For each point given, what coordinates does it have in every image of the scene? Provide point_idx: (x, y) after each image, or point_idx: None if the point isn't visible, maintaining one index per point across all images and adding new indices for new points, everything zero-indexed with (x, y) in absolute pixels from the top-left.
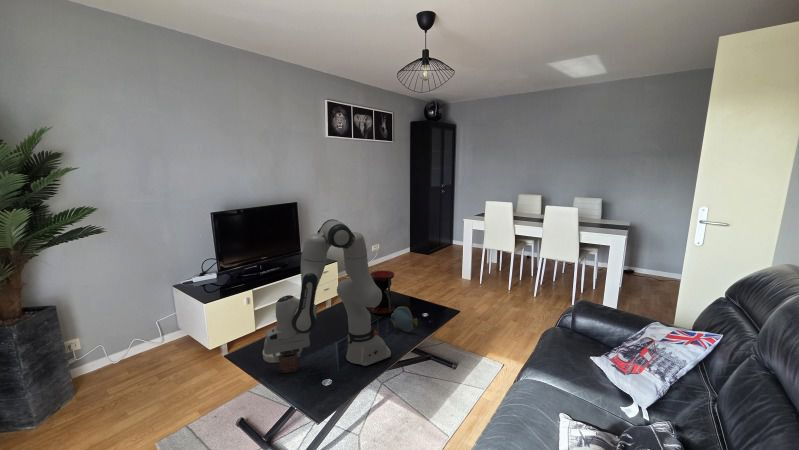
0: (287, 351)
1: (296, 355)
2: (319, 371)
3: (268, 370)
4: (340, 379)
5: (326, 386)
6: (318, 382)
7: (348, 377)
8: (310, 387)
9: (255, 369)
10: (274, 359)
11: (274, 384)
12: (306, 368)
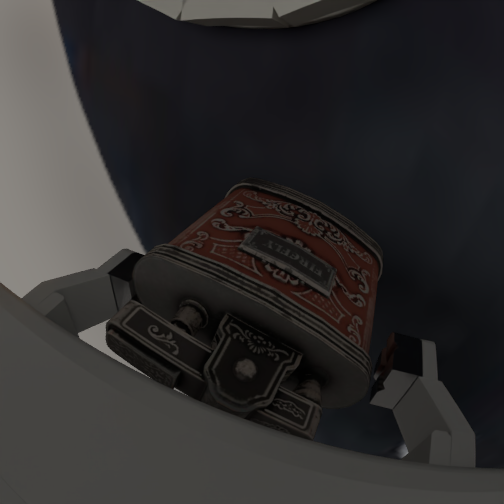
0: None
1: (359, 393)
2: (471, 384)
3: (155, 130)
4: None
5: None
6: (395, 436)
7: (496, 459)
8: (345, 437)
9: (87, 74)
10: (192, 22)
11: None
12: (442, 308)
